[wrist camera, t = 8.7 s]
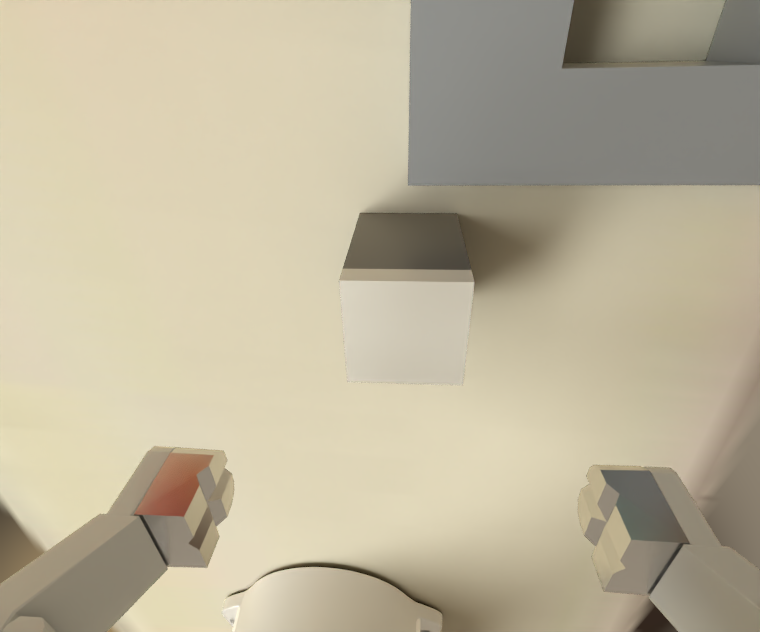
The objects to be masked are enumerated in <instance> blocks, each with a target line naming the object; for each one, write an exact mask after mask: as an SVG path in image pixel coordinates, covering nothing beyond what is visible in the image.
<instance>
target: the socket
mask: <svg viewBox="0 0 760 632" xmlns="http://www.w3.org/2000/svg"><path fill="white" fill-rule="evenodd" d="M573 4H574V0H411V31H410V95H409V159H408V185H760V0H726V2H725V5H724V8H723V10H722V13H721V16H720V19H719V22H718V25H717V28H716V31H715V34H714V37H713V40H712V43H711V46H710V49H709V52H708V55H707V58H706V61H656V62H605V63H563V59H564V53H565V48H566V42H567V37H568V31H569V26H570V20H571V15H572V9H573Z"/></svg>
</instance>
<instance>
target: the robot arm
mask: <svg viewBox="0 0 760 632" xmlns="http://www.w3.org/2000/svg"><path fill="white" fill-rule="evenodd" d="M226 463H227V458H226V455H225V453H224V451H222V450H208V449H194V448H179V447H161V446H154V447H153V448H152V449H151V450H149V451H148V452H147V453H146V455H145V456H144V458H143V459H142V461H141V462H140V464H139V465H138V467H137V468H136V470H135V472H134V473H133V475H132V476H131V478H130V479H129V481H128V482H127V484H126V485H125V487H124V488H123V490H122V491H121V493H120V494H119V496H118V498H117V499H116V501H115V502H114V504H113V505H112V507H111V508H110V510H109V511H108V513H107V514H99V515H98V516H96V517H95V518H93V519H92V520H90V521H89V522H88V523H86V524H85V525H83V526H82V527H80V528H79V529H78V530H76V531H75V532H73V533H72V534H71V535H69V536H68V537H66V538H65V539H63V540H62V541H61V542H59V543H58V544H56V545H55V546H54V547H52V548H51V549H49V550H48V551H46V552H45V553H44V554H42V555H41V556H40V557H38V558H36V559H35V560H34V561H32V562H31V563H29V564H28V565H27V566H25V567H24V568H22V569H21V570H20V571H18V572H17V573H15V574H14V575H12V576H11V577H9V578H8V579H7V580H5V581H4V582H2V583H1V584H0V632H107V631H108V630H109V629H110V628H111V627H112V626H113V625H114V624H115V623H116V622H117V621H118V620H119V619H120V618H121V617H122V616H123V615H124V614H125V613H126V612H127V611H128V610H129V608H130V607H131V606H132V605H133V604H134V603H135V602H136V601H137V600H138V599H139V598H140V597H141V596H142V595H143V594H144V593H145V592H146V591H147V590H148V589H149V588H150V587H151V586H152V585H153V584H154V583H155V582H156V581H157V580H158V579H159V578H160V577H161V576H162V575H163V574H164V573H165V572H166V570H167V569H168V568H167V567H199V568H207V567H208V564H209V562H210V559H211V557H212V554H213V552H214V549H215V547H216V544H217V542H218V539H219V537H220V536H219V533H218V530H217V525H218V524H220V523H221V522H222V521H223V520H224V519H225V518H227V516H228V514H229V511H230V508H231V505H232V501H233V495H234V480H233V476H232V473H230V472H229V471H228V470H227V469H225V468H224V467H225V465H226ZM586 477H587V479H588V482H589V485H587V486H585V487H584V488H582V489H581V491H580V494H579V498H578V515H579V520H580V525H581V528H582V531H583V534H584V536H585V537H586V538H587V539H588V540H589V541H590V542H591V543H593V544H594V545H595V546H596V547H595V549H594V552H593V555H592V560H593V562H594V565H595V568H596V571H597V574H598V577H599V579H600V582H601V585H602V588H603V591H604V592H616V593H627V594H639V595H650V596H649V599H650V600H651V601H652V602H653V604H654V605H655V606H656V607H657V608H658V609H659V610H660V611H661V613H662V614H663V615H664V616H665V617H666V618H667V619H668V620H669V621H670V623H671V624H672V625H673V626H674V627H675V628H676V630H677V631H678V632H760V569H758V568H757V567H756V566H754V565H753V564H752V563H751V562H749V561H748V560H747V559H746V558H744V557H743V556H742V555H740V554H739V553H738V552H736V551H735V550H734V549H732V548H731V547H724V546H722V545H721V544H720V542H719V540H718V539H717V537H716V536H715V534H714V533H713V531H712V529H711V528H710V526H709V524H708V523H707V521H706V520H705V518H704V516H703V515H702V513H701V512H700V510H699V508H698V507H697V505H696V503H695V502H694V500H693V499H692V497H691V495H690V494H689V492H688V491H687V489H686V487H685V486H684V484H683V483H682V481H681V479H680V478H679V476H678V475H677V473H676V472H675V471H674V470H672V469H671V468H663V467H641V466H619V465H593V466H591V467H590V468H589V470H588V473H587V475H586ZM222 615H223V616H224V618H225V619H226V620H227V621H228V622H229V623H230V624H231V625H232V627H233V629H232V632H441V630H442V617H443V616H442V614H441V613H440V612H439V611H437V610H435V609H433V608H431V607H428V606H425V605H423V604H420V603H417V602H415V601H413V600H412V599H410V598H409V597H408V596H406V595H405V594H404V593H403V592H401V591H400V590H399V589H397V588H396V587H394V586H392V585H390V584H388V583H386V582H384V581H382V580H380V579H377V578H375V577H372V576H369V575H365V574H362V573H358V572H354V571H349V570H343V569H337V568H326V567H302V568H292V569H286V570H282V571H278V572H274V573H272V574H269V575H267V576H265V577H263V578H261V579H260V580H258V581H257V582H256V583H255V584H254V585H253V586H252V587H250V588H249V589H248V590H247V591H245V592H241V593H238V594H235V595H232V596H229V597H227V598H226V599H225V600H224V604H223V608H222Z"/></svg>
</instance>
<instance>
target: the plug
mask: <svg viewBox="0 0 760 632" xmlns="http://www.w3.org/2000/svg"><path fill="white" fill-rule="evenodd" d="M474 284H475V282H474V278H473V274H472V270H471V266H470V262H469V258H468V255H467V251H466V247H465V243H464V239H463V235H462V231H461V227H460V223H459V220H458V216H457V213H360V215H359V218H358V221H357V224H356V228H355V231H354V234H353V237H352V240H351V244H350V247H349V250H348V253H347V257H346V260H345V263H344V266H343V270H342V273H341V276H340V279H339V285H340V298H341V310H342V323H343V335H344V348H345V360H346V373H347V382H361V383H396V384H431V385H463V381H464V372H465V363H466V354H467V346H468V337H469V328H470V319H471V310H472V301H473V292H474Z"/></svg>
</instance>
